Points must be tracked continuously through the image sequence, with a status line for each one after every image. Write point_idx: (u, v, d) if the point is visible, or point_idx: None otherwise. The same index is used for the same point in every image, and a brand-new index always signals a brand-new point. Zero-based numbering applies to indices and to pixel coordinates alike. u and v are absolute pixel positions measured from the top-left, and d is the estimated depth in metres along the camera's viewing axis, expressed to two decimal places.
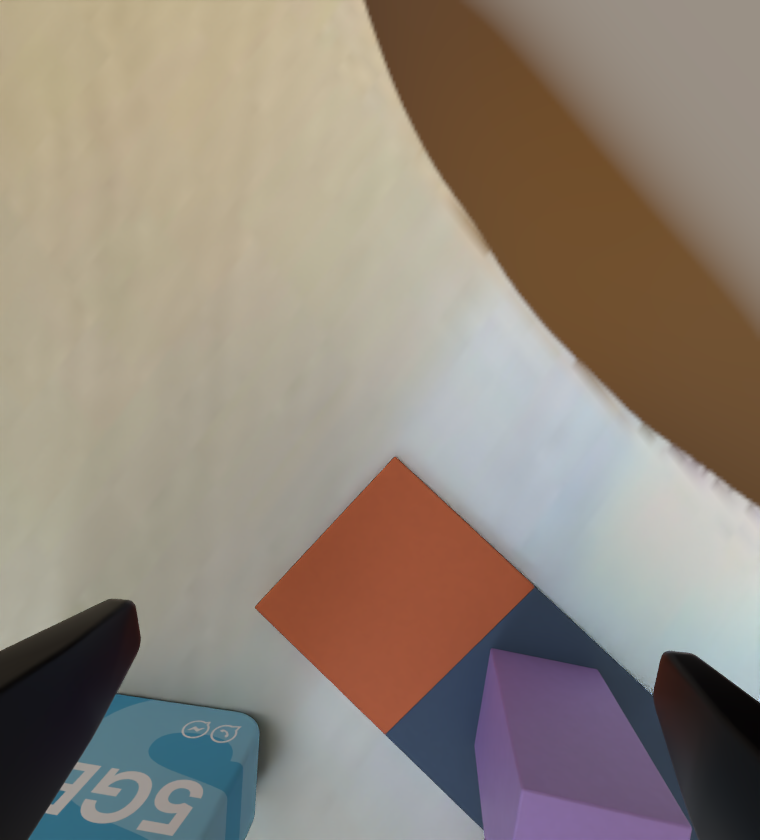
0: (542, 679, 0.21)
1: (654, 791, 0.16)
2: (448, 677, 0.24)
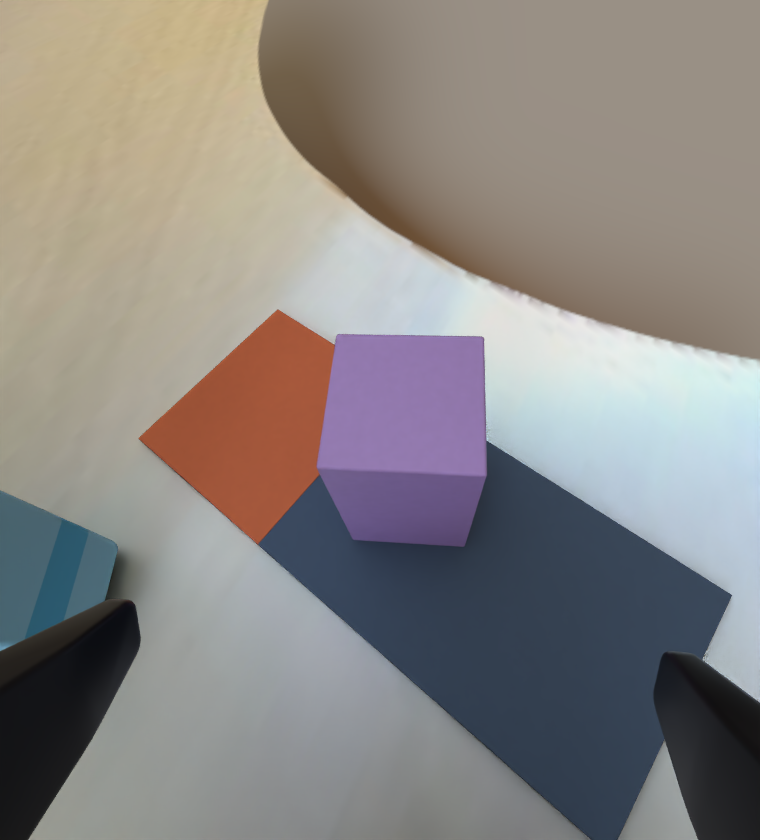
0: None
1: None
2: None
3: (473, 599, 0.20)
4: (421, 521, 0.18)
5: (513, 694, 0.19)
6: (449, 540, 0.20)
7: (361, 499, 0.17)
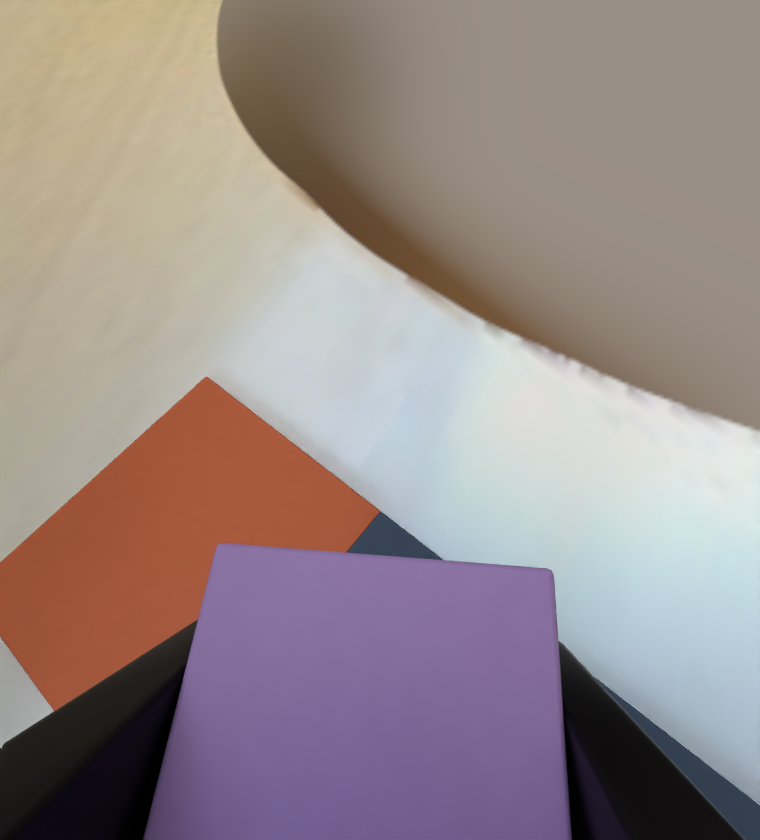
0: None
1: None
2: None
3: None
4: None
5: None
6: None
7: None
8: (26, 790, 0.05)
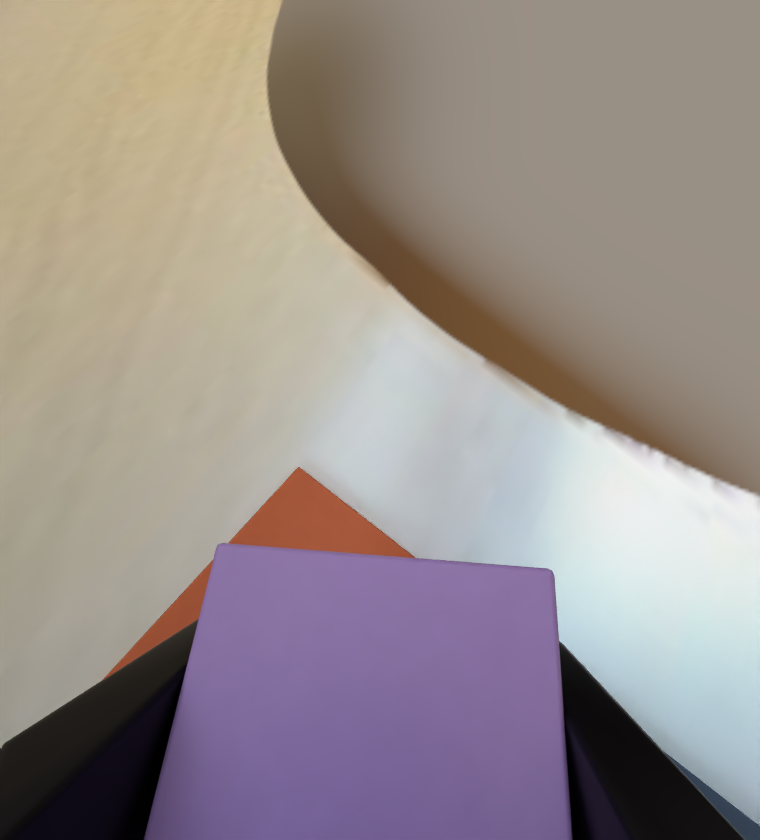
0: None
1: None
2: None
3: None
4: None
5: None
6: None
7: None
8: (26, 790, 0.05)
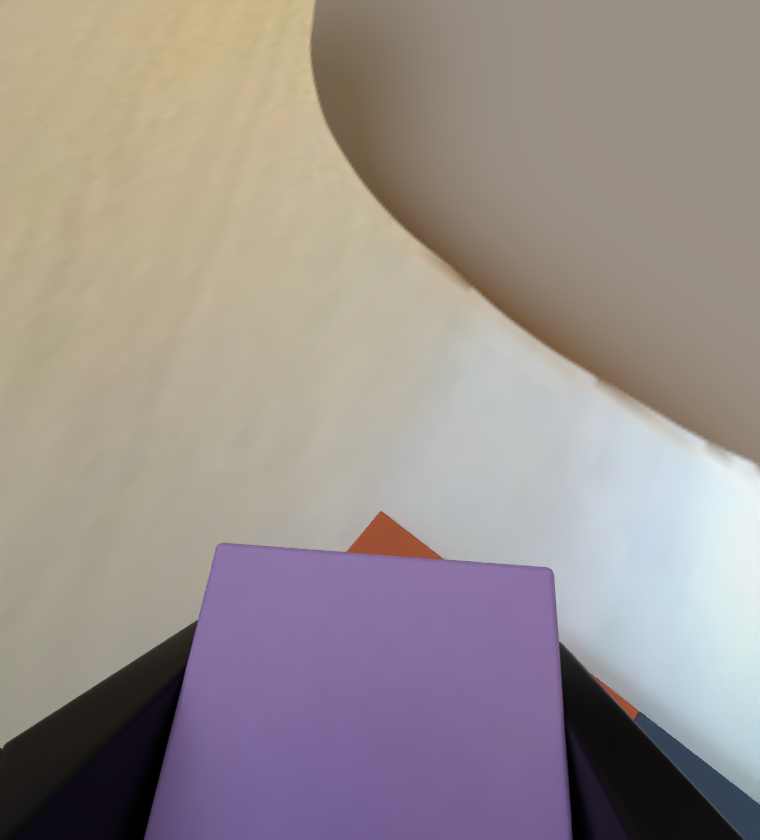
0: None
1: None
2: None
3: None
4: None
5: None
6: None
7: None
8: (28, 790, 0.05)
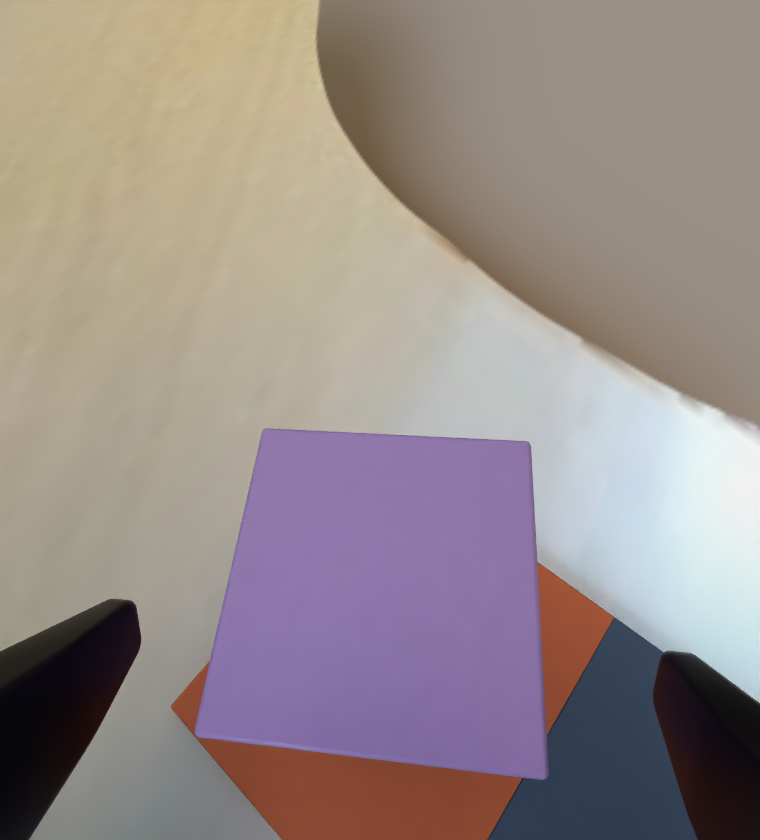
0: None
1: None
2: (511, 813, 0.13)
3: None
4: None
5: None
6: None
7: None
8: None
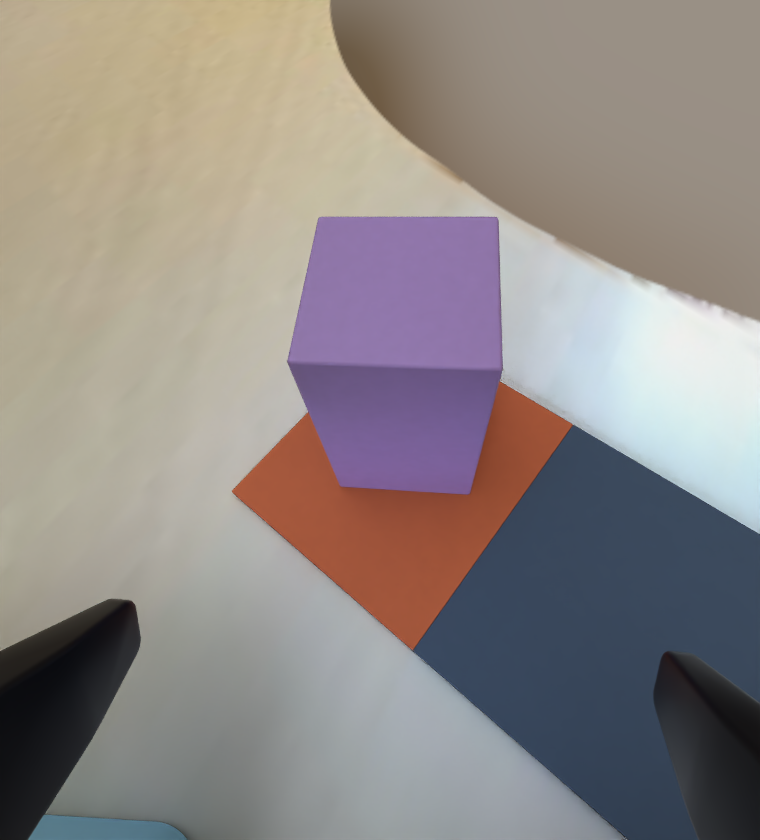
0: None
1: None
2: (491, 548, 0.17)
3: None
4: (419, 453, 0.15)
5: None
6: (452, 484, 0.18)
7: (346, 417, 0.14)
8: None
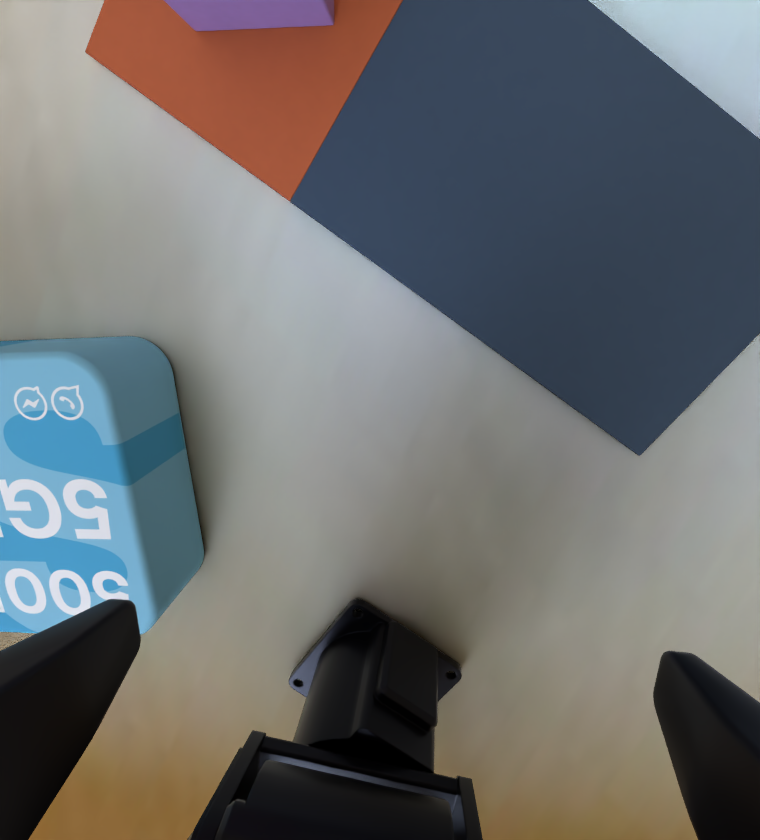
0: None
1: None
2: (357, 90, 0.17)
3: (548, 250, 0.18)
4: None
5: (578, 343, 0.19)
6: (306, 12, 0.16)
7: None
8: None
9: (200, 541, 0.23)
